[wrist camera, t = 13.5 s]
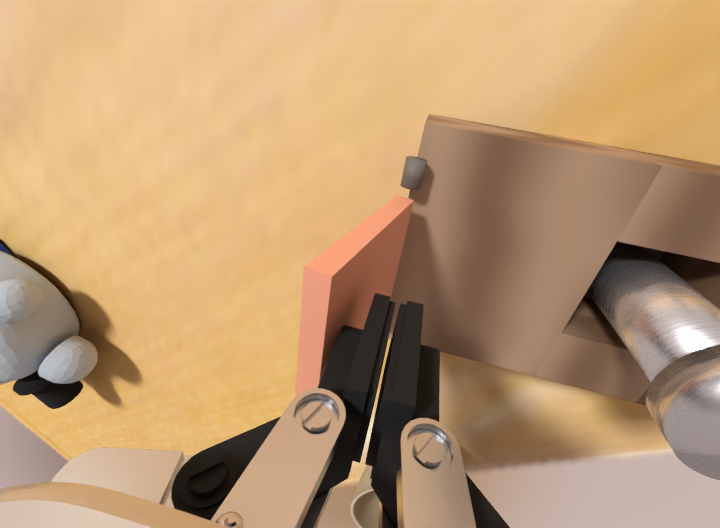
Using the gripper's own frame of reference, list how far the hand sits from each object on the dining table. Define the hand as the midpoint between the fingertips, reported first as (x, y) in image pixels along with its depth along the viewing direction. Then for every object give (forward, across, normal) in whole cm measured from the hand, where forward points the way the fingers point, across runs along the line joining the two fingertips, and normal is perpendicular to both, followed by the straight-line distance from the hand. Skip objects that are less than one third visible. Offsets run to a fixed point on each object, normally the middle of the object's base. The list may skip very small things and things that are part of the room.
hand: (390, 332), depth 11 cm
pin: (+11, -11, 0) cm, 16 cm away
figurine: (+12, +37, +18) cm, 43 cm away
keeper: (+2, +2, 0) cm, 3 cm away
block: (+11, -7, 0) cm, 14 cm away
